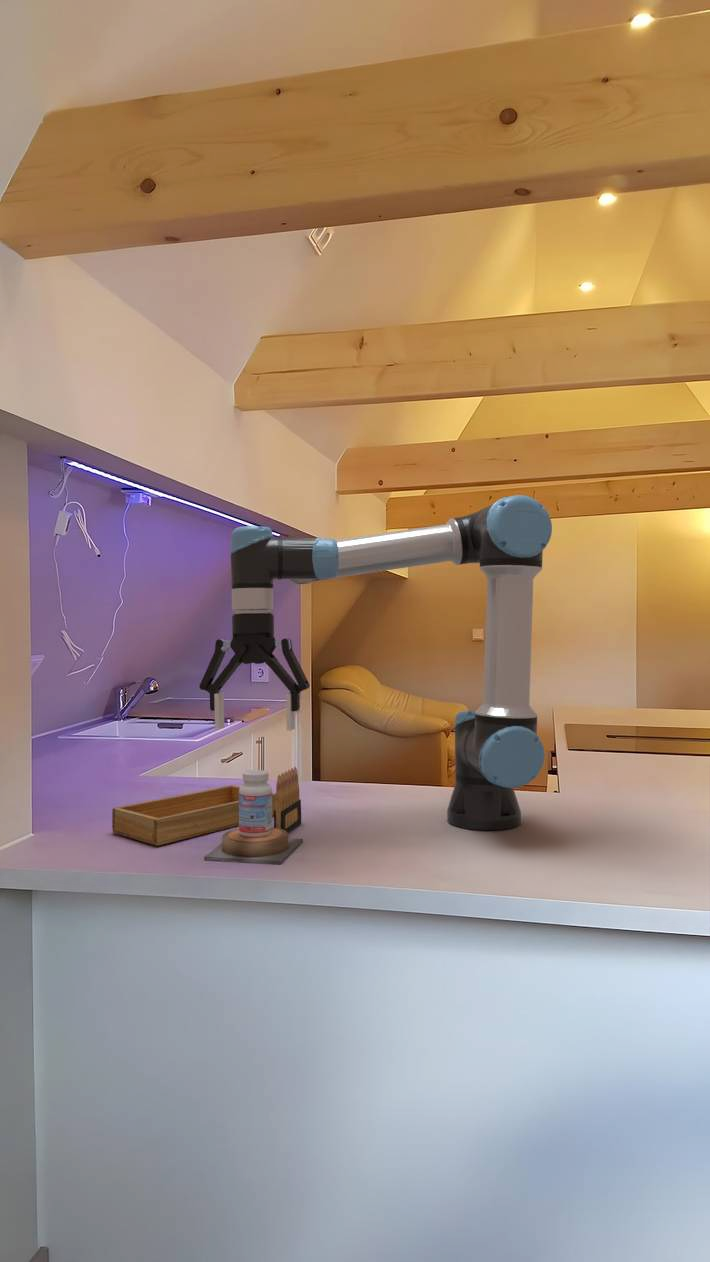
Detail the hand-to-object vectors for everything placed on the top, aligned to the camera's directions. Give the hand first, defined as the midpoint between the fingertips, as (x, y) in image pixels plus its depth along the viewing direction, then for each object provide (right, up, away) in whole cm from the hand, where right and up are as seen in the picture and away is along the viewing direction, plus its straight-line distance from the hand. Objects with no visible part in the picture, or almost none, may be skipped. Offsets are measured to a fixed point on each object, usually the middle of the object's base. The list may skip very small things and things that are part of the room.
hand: (254, 729), depth 141 cm
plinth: (0, -22, 0) cm, 22 cm away
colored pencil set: (+5, -22, +14) cm, 27 cm away
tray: (-14, -23, +19) cm, 33 cm away
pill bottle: (0, -19, 0) cm, 19 cm away
